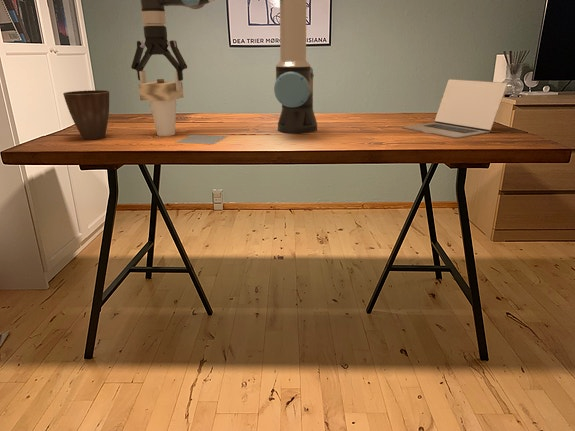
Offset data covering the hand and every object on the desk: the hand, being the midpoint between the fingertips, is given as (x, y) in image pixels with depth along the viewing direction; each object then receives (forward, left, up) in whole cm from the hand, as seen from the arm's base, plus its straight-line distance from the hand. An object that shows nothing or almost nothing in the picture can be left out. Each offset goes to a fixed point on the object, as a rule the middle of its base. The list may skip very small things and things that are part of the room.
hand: (161, 90), depth 162 cm
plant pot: (+24, +9, -16) cm, 30 cm away
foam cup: (0, 0, -16) cm, 16 cm away
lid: (0, 0, -3) cm, 3 cm away
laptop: (-101, -30, -17) cm, 107 cm away
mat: (-17, +6, -16) cm, 24 cm away
